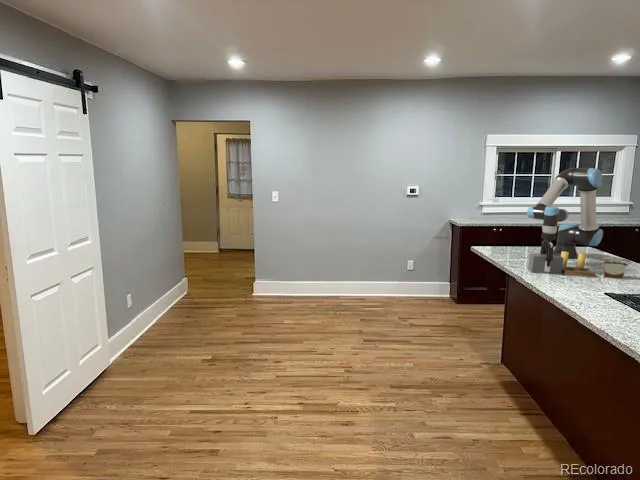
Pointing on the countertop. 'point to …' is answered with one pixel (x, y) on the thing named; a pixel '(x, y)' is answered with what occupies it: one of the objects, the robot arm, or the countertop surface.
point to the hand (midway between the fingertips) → (544, 269)
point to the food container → (614, 268)
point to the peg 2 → (581, 260)
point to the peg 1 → (565, 256)
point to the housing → (539, 261)
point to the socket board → (577, 272)
